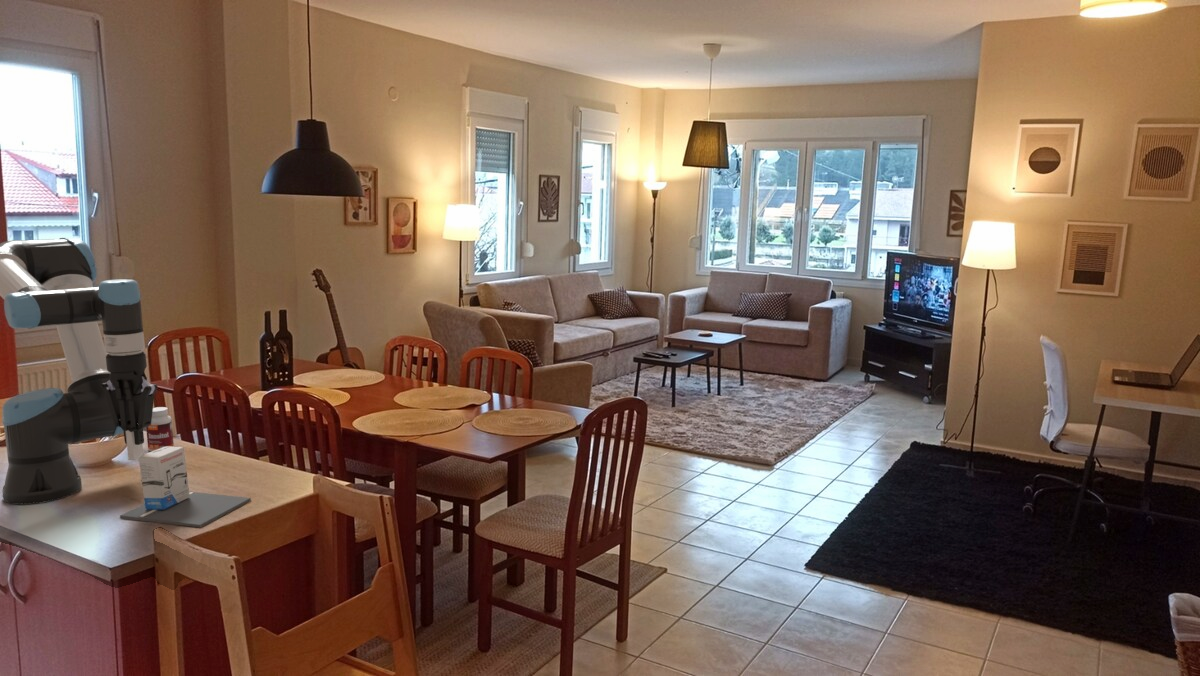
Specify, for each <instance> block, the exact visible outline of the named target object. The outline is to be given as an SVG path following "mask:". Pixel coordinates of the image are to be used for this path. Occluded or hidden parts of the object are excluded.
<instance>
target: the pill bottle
mask: <svg viewBox="0 0 1200 676" xmlns="http://www.w3.org/2000/svg"><path fill="white" fill-rule="evenodd" d="M168 414H169V409H168V407H165V406H157V407H153V411H152V420H151V425H150V426H148V427H145V428H146V439H147V440H146V441H147V442H146V443H147V450H148V451H149V452H152V451H154V450H157V449H160V448H162V447H166V446H171V447H175V446H174V445H175V443H174V433H173V432H174V431H173V430H174V429H173V422H172V421H173V419H172V417H171V416H170V415H168Z"/></svg>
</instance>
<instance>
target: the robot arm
mask: <svg viewBox="0 0 1200 676" xmlns="http://www.w3.org/2000/svg"><path fill="white" fill-rule="evenodd" d="M97 276H98V271H97V265H96V260H95V256H94V253H93V252H92V249H91V248H90V246H89V245H88V244H87V243H86V242H85V241H84V240H81V239H79V238H67V237H60V238H52V239H51V238H50V239H49V238H48V239H45V238H44V239H23V240H22V239H21V240H20V239H14V240H7V241H3V242H1V243H0V297H1V299H2V300H4V301H3V305H4V306H3V307H4V316H5V318H6V320H7V324H8V326H9V327H10V328H12V329H15V330H16V329H37V328H44V327H54V326H56V329H57V333H58V336H59V340H60V343H61V347H62V351H63V355H64V358H65V361H66V365H67V369H68V372H69V375H70V378H71V382H70V384H69V385H68V386H67V389H66V392H65V393H64V392H63V391H62V389H61V388H58V387H49V388H39V389H34V390H29V391H26V392H23V393H20V394H17V395H15V396H12V397H10V398H9V399H7V400H5V401H4V403H3V404H2V405H3V406H2V412H1V413H2V421H1V423H2V426H3V430H4V438H5V445H6V446H5V448H6V454H7V461H8V464H7V465H8V467H7V472H6V476H5V480H4V485H3V487H2V490H1V491H2V500H3V501H4V502H5V503H8V504H13V505H31V504H40V503H47V502H52V501H57V500H60V499H62V498H67V497H70V496H71V495H74V494H77V492H79V491H80V490H81V489H82V488H83V485H82V478H81V477H82V476H81V475H80V474H79V472H78V470H77V468H76V465H75V464H74V462H73V460H72V458H71V456H70V450H69V444H73V443H74V444H75V443H80V442H85V441H92V440H97V439H103V438H108V437H109V438H110V437H116V436H117V435H122V434H123V437H124V444H125V445H126V448H127V456H128V461H137V460H139V457H141V455H144V446H143V444H144V443H145V436H144V429H145V428H146V427H148V426H150V425H151V420H152V411H153V408H154V401H155V395H156V392H157V390H158V384H156V383H154V384H153V383H152V384H151V383H150V382H149V381H148V376H147V375H146V373H145V371H146V369H147V367H148V365H147V355H146V354H147V353H146V352H145V351H144V350H145V349H146V344H145V342H146V341H145V336H144V325H143V314H142V312H143V311H142V304H141V303H142V302H141V300H142V299H141V298H142V295H141V292H140V287H139V286H140V285H139V283H138V281H137V280H134V279H128V278H127V279H126V278H124V279H123V278H122V279H121V278H119V279H108V280H102V281H100V282H99V284H98V285H93V284H94V282H96V280H97ZM98 322H101V324H102V331H103V332H102V333H101V330H100V327H99V324H98ZM102 334H103V337H102Z"/></svg>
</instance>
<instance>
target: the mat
mask: <svg viewBox="0 0 1200 676" xmlns="http://www.w3.org/2000/svg"><path fill="white" fill-rule="evenodd" d="M189 494H190V497H189V498H187V499H185V500H183V501H181V502H179V503H177V504H175V505H173V506H171V507H169V508H167V509H165V510H161V509H146V508H145V503H143V504H141V505H140V506H138V507H136V508H133V509H131V510H129V511H126V512H125V513H121V514H120V515H119V519H124V520H134V521H141V522H142V521H143V522H149V523H160V524H167V525H175V526H183V527H192V528H202V527H204V526H206V525H207V524H210V523H211V522H213V521H215V520H217V519H219V518H221V517H222V516H224V515H227V514H228V513H230V512H232V511H234V510H236V509H237V508H240V507H242V506H244V505H245V504H247V503H248V502H251V500H252V499H251V497H245V496H244V497H243V496H237V495H236V496H234V495H225V494H216V493H209V492H208V493H205V492H198V491H189Z"/></svg>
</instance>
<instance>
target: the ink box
mask: <svg viewBox="0 0 1200 676" xmlns="http://www.w3.org/2000/svg"><path fill="white" fill-rule="evenodd" d="M138 463H139V470H140V477H141V485H142V490H143V491H142V492H143V493H142V494H143V501H144V504H145V508H146V509H161V510H165V509H167V508H169V507H171V506H173V505H175V504H177V503H179V502H181V501H183V500H185V499H187V498H189V497H190V494H189V492H190V487H189V479H188V471H187V470H188V469H187V463H186V454H185V447H184V446H174V447H171V446H166V447H162V448H160V449H157V450H154V451H152V452H151V451H149V452H147V453H143V455H141V457H139V459H138Z"/></svg>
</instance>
